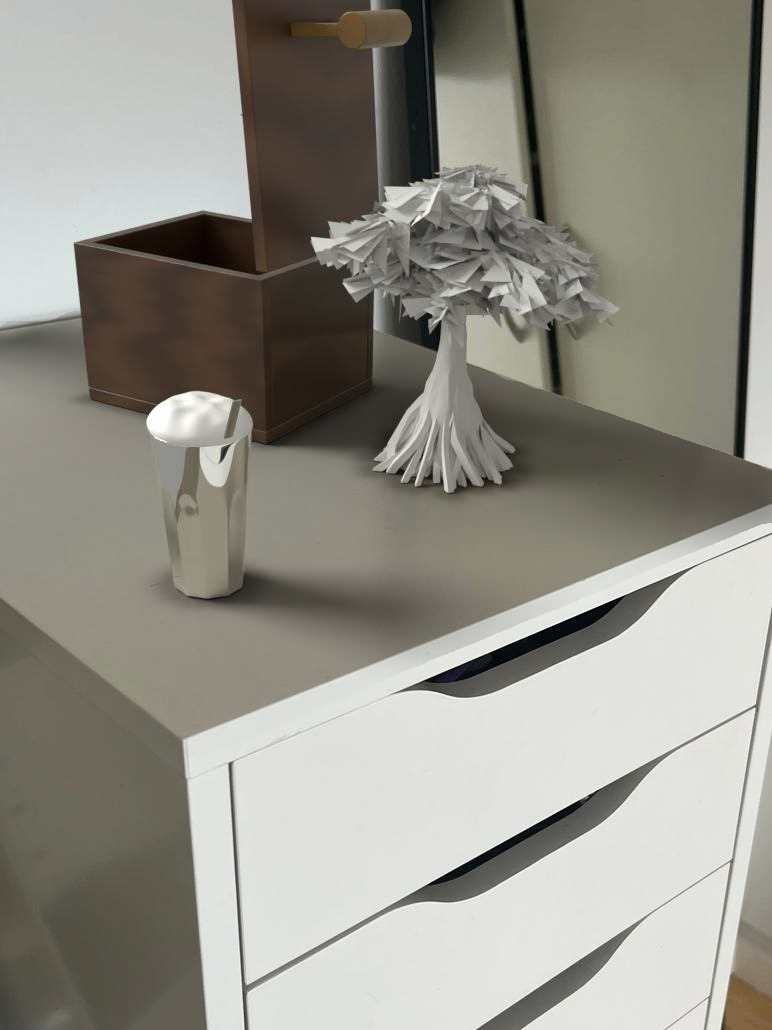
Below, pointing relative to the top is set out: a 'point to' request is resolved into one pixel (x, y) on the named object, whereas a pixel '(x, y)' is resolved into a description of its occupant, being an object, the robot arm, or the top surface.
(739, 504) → the top surface
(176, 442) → the milkshake
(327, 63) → the lid
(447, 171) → the tree
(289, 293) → the chest
